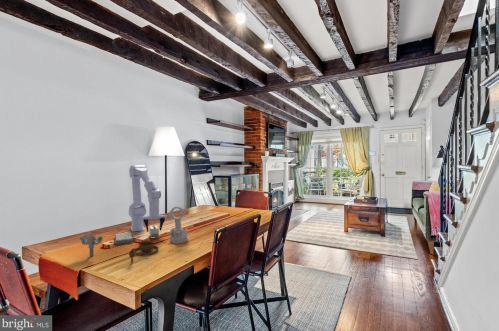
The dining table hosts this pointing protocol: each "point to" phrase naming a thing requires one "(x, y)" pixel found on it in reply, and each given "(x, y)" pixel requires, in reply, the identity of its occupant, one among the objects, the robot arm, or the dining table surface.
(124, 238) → the panel
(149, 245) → the place setting
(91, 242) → the mechanical component
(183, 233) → the engine component
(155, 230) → the housing
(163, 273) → the dining table surface
